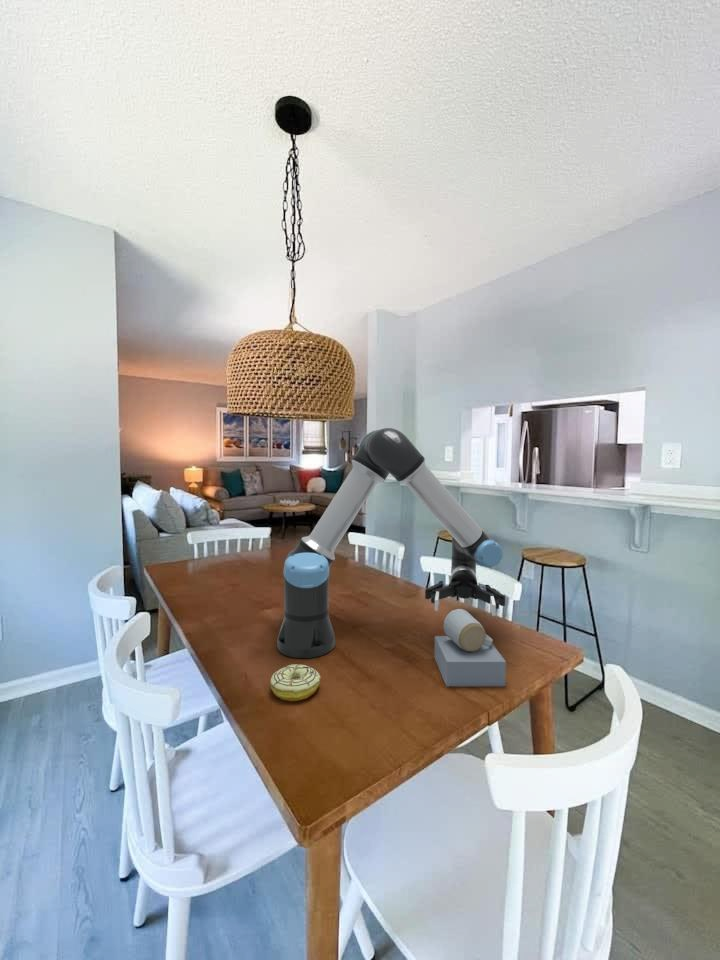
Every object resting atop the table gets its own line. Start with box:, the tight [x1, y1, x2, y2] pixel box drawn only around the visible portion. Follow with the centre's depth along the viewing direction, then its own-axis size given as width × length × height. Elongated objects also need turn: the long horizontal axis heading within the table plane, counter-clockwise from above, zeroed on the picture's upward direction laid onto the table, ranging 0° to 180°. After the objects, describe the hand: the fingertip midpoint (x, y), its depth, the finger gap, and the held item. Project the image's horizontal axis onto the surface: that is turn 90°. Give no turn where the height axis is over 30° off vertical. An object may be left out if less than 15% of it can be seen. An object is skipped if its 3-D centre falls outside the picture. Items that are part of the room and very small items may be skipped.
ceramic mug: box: [443, 608, 493, 652], centre depth 98 cm, size 11×8×8 cm
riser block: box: [433, 635, 507, 687], centre depth 97 cm, size 13×13×6 cm
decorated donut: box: [270, 663, 321, 702], centre depth 89 cm, size 10×11×4 cm
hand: (464, 607), depth 100 cm, fingers open, 13 cm apart
